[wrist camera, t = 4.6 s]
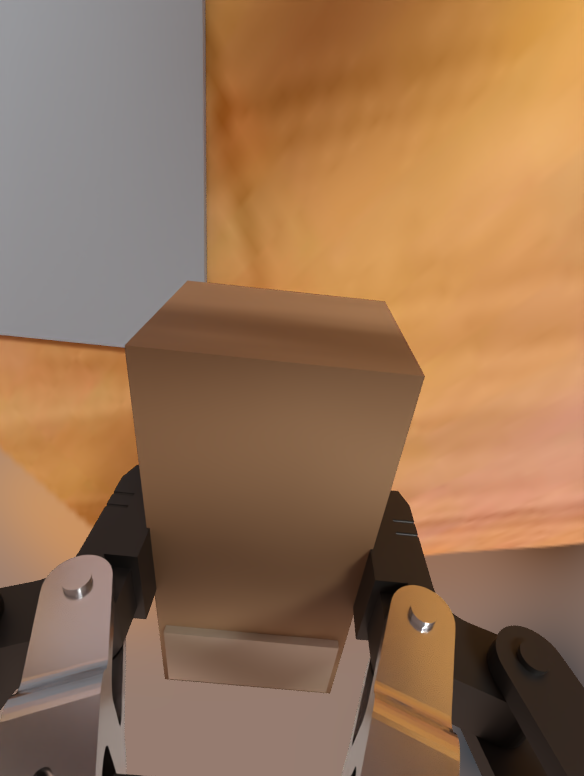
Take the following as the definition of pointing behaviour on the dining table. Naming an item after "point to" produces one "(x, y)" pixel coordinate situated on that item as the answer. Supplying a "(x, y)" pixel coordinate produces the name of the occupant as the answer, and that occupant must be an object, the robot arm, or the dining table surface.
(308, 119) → the dining table surface
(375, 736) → the robot arm
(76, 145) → the slate mat
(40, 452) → the dining table surface
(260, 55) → the dining table surface
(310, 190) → the dining table surface
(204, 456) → the brown rectangular block
